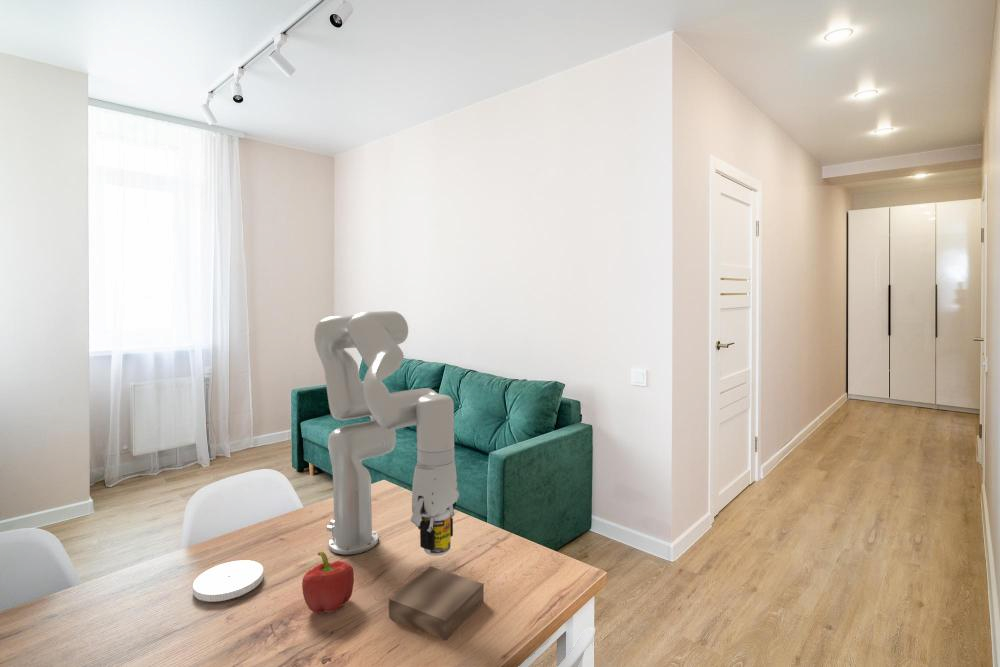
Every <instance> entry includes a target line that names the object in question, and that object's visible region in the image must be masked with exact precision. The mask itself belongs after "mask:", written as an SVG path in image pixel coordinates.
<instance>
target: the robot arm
mask: <svg viewBox="0 0 1000 667" xmlns="http://www.w3.org/2000/svg"><path fill="white" fill-rule="evenodd" d="M408 335H409V326H408V322H407V320H406V318H405V317H404V315H402V314H401V313H399V312H397V311H392V310H388V311H387V310H386V311H385V310H384V311H382V310H381V311H364V312H359V313H357V314H355V315H353V314H352V315H351V314H350V315H334V316H332V315H331V316H328V317H325V318H323V319H321V320H319V321H318V322H317V324H316V325H315V329H314V336H313V337H314V338H313V340H314V345H315V346H314V347H315V349H316V353H317V354H318V357H319V359H320V362H321V365H322V367H323V370H324V376H325V377H324V378H325V385H326V393H327V400H328V408H329V411H330V415H331V417H333V419H335V420H339V421H346V420H347V421H349V420H353V419H360V418H365V417H369V418H370V420H369V421H364V422H358V423H352V424H347V425H342V426H340V427H337V428H336V429H334V430H332V431H331V433H330V434H329V435H328V438H327V448H328V452H329V457H330V462H331V470H332V488H333V489H332V490H333V519H331V520H330V522H329V524H328V525H327V526H326V527H325V528H326V529H325V530H327V532H331V537H330V538H329V540H328V548H329V550H330V551H331V552H332V553H335V554H336V555H337V554H339V555H344V556H345V555H347V556H348V555H357V554H361V553H365V552H367V551H369V550H370V549H371V550H372V549H373V548H374V547H375V546H376V545H377V544H378V542H379V534H378V532H376V531H375V530H373V516H372V513H373V511H372V510H373V508H372V476H371V474H370V471H369V470H368V468H367V467H365V465H363V463H362V462H363V461H364V460H368V459H372V458H376V457H380V456H383V455H386V454H390V453H391V452H392V451H393V450H394V448H395V447H396V441H397V437H396V436H397V435H396V430H398V429H403V428H407V427H413V426H416V460H417V461H416V465H415V467H414V472H413V478H412V491H411V493H412V494H411V512H412V515H411V517H410V522H411V523H412V524H414V525H415V526H416V527H417V529H418V530H419V536H420V538H419V539H420V540H419V541H420V544H419V545H420V547H421V548H422V549H424V548H425V549H428V550H431V551H432V550H434V549H435V532H434V530H432V528H433V523H434V517H435V515H437V514H439V513H440V512H442V511H443V510H444V509H445V508H446V509H448V510H449V511H450V538H451V537H453V535H454V527H453V526H454V522H453V521H454V516H455V510H456V509H455V508H456V506H457V501H458V499H459V497H460V492H459V490H458V476H457V466H456V462H455V410H454V409H455V408H454V407H455V404H454V399H453V398H452V397H451V396H450V395H447V394H441V393H438V392H436V391H435V390H433V389H432V388H427V387H426V388H425V387H424V388H416V389H407V390H401V391H400V390H399V391H392V392H390V391H389V389H388V387H387V386H386V384H385V383H383V380H385V379H386V378H388V377H389V376H392V375H393V374H394V373H395V372H396V371H398V369H399V368H400V367H401V365H402V363H403V362H404V351H402V348H401V347H400V345H401V344H403V343H404V342H406V340H407V338H408ZM355 348H356V350H357V351H358V354H359V355H360V357H361V358H362V360H363V362H364V363H365V365H366V367H367V370H366V373H365V375H364V379H363V381H362V380H361V379H360V372H359V365H358V363H357V361H356V360H355V358H354V357H353V356H352V355H351V354H350V353H349V352H348V351H347V350H345V349H355ZM426 512H427V513H426ZM425 517H427V518H429V520H428V524H427V523H426V522H425Z"/></svg>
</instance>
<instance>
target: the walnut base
mask: <svg viewBox="0 0 1000 667" xmlns="http://www.w3.org/2000/svg"><path fill="white" fill-rule="evenodd" d="M484 586H485V585H484V583H482V582H480V581H477V580H473V579H471V578H467V577H465V576H461V575H458V574H455V573H453V572H449V571H445V570H443V569H439V568H436V567H434V566H429V567H428V568H426V569H425V570H424V571H423V572H421V573H420V574H419V575H417V576H416V577H415V578H414V579H412V580H410V582H408V583H407V584H406V585H405V586H404V587H402V588H401V589H399V590H398V591H397V592H396V593H394V594H392V595H391V596H390V597H389V598H388V617H389V618H390V619H391V620H393V621H397V622H399V623H402V624H404V625H406V626H409V627H411V628H413V629H416V630H418V631H421V632H424V633H426V634H428V635H430V636H433V637H436V638H438V639H441V640H442V641H447V640H448V639H449V637H451V636H452V635H453V634H454V633H455V631H457V629H458V628H459V627H461V626H462V625H463V623H464V622H465V621H466V620H467V619H468V618H470V616H471V615H472V614H473V613H474V612H475V611H476V610H477V609H478V608H479V607H480V606H481V604H483V603H484V598H485V596H484V594H485V592H484V590H485V589H484V588H485V587H484Z"/></svg>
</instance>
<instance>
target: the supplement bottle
mask: <svg viewBox="0 0 1000 667" xmlns="http://www.w3.org/2000/svg"><path fill="white" fill-rule="evenodd" d="M426 513H427V512H426ZM428 520H429V518H427V517H425V522H426V523H427V524H428ZM432 530H434V532H435V549H434V550H432V551H431V550H428V549H425V548H423V551H424V553H425V554H427V555H430V556H433V557H437V556H442V555H443V556H444V555H446V554H447V553H448V552H450V550H451V541H452V540H451V537H450V511H449V510H448V509H446V508H445V509H444V510H443V511H442V512H440V513H439V514H437V515H435V517H434V523H433V528H432Z"/></svg>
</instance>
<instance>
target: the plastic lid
mask: <svg viewBox="0 0 1000 667" xmlns="http://www.w3.org/2000/svg"><path fill="white" fill-rule="evenodd" d="M263 579H264V566H263V565H262V564H261V563H260V562H257V561H254V560H248V559H247V560H245V559H243V560H242V559H241V560H239V559H238V560H234V561H233V560H232V561H229V562H224V563H220V564H218V565H214V566H213V567H211V568H208V569H206V570H205V571H204V572H202V573H201V574H199V575H197V577H196V578H195V579H194V581H193V583H192V595H193V597H194V598H196V599H197V600H199V601H203V602H209V603H210V602H213V603H214V602H215V603H216V602H222V601H223V602H224V601H226V600H227V601H229V600H230V599H231V600H232V599H235V598H236V597H237V598H239V597H240V596H241V597H242V596H243V595H245V594H247V593H249V592H251V591H252V590H254V589H256V588H257V587H258V586H259V585H260V584H261V583H262V581H263Z"/></svg>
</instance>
